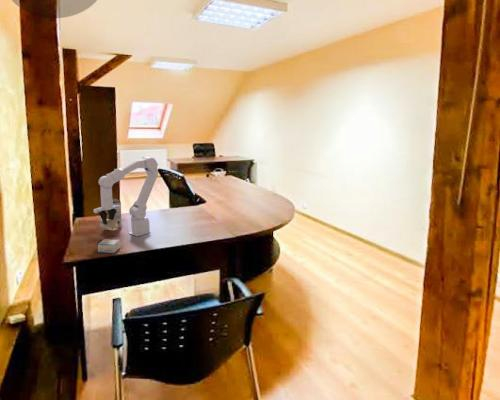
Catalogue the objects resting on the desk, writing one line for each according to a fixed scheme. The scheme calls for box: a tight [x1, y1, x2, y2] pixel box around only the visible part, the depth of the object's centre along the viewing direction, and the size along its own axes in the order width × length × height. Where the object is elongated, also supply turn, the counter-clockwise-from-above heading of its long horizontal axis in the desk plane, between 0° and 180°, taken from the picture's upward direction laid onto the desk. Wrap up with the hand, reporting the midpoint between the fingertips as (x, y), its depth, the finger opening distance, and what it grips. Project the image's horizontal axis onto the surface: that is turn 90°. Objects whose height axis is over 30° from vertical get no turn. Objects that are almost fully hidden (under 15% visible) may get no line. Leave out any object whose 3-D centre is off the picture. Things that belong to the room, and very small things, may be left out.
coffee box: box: [105, 198, 123, 228], centre depth 220 cm, size 9×6×16 cm
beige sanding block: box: [99, 218, 119, 231], centre depth 197 cm, size 3×12×5 cm, turn 53°
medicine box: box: [97, 238, 121, 254], centre depth 182 cm, size 8×4×9 cm
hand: (108, 223), depth 198 cm, fingers closed on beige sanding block, 3 cm apart
